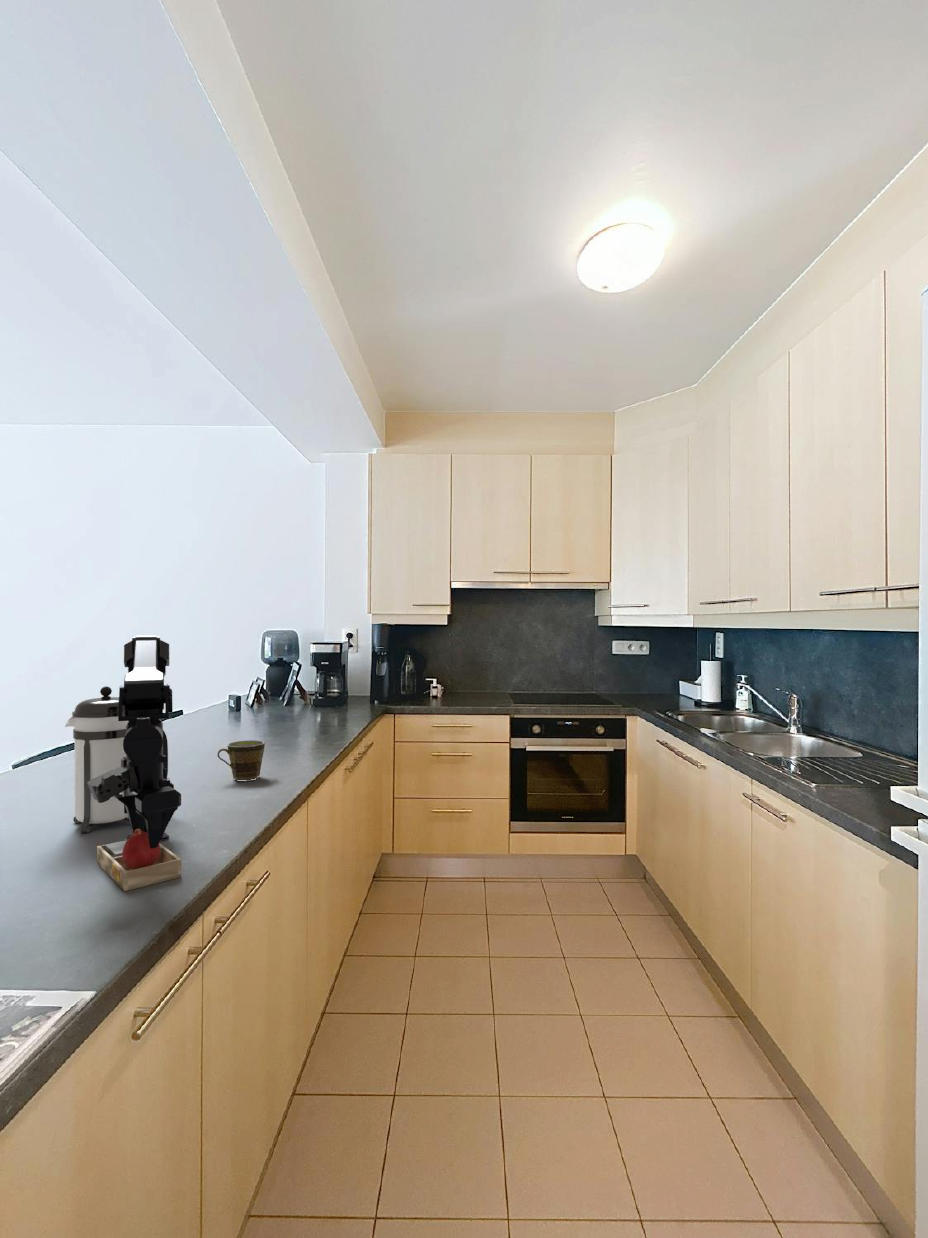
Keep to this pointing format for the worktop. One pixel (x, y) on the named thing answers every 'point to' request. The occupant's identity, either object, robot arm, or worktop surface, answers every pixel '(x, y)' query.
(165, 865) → the wooden compartment tray
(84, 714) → the coffee press
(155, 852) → the red rounded piece
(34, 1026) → the worktop surface
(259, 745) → the ceramic cup
